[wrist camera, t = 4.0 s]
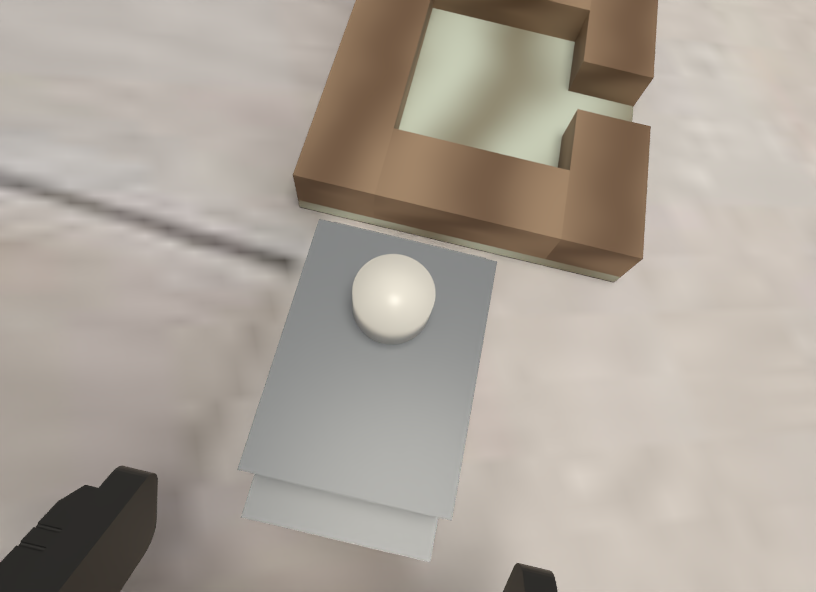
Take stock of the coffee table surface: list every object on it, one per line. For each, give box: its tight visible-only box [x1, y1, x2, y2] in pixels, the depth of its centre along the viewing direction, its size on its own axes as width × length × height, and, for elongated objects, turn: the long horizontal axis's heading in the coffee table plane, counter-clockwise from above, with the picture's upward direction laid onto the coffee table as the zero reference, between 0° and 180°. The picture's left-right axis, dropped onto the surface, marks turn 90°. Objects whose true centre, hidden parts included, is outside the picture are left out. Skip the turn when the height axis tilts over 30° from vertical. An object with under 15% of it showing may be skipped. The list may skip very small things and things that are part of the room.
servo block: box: [238, 219, 497, 562], centre depth 16 cm, size 4×8×11 cm, turn 167°
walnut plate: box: [293, 0, 658, 282], centre depth 26 cm, size 15×17×3 cm
